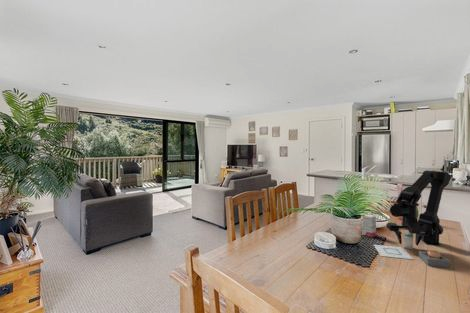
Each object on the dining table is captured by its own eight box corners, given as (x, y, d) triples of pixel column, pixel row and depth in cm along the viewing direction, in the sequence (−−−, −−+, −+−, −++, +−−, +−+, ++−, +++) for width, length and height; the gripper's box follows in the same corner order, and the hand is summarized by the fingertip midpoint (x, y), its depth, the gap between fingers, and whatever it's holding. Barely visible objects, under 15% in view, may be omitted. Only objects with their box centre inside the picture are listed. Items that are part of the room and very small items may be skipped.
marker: (411, 246, 121) (411, 233, 121) (414, 249, 118) (414, 235, 118) (402, 245, 122) (403, 232, 122) (405, 248, 119) (406, 235, 119)
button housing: (439, 259, 107) (439, 252, 107) (449, 267, 100) (450, 261, 100) (418, 257, 110) (418, 250, 109) (427, 265, 102) (427, 258, 102)
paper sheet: (401, 247, 120) (401, 247, 120) (413, 259, 107) (413, 258, 107) (373, 245, 123) (373, 244, 123) (381, 256, 111) (381, 255, 111)
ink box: (376, 236, 136) (376, 216, 135) (372, 238, 133) (372, 217, 132) (361, 231, 143) (361, 212, 143) (357, 233, 140) (357, 214, 140)
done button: (436, 255, 106) (436, 250, 106) (442, 260, 102) (442, 255, 102) (425, 254, 107) (425, 249, 107) (430, 259, 103) (430, 253, 103)
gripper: (394, 217, 114) (393, 249, 115) (440, 220, 109) (439, 253, 110) (386, 211, 125) (385, 240, 126) (427, 214, 120) (426, 244, 120)
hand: (408, 244), depth 120 cm, fingers open, 7 cm apart
